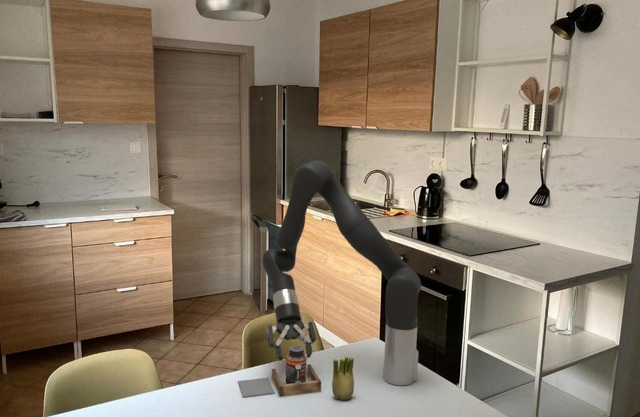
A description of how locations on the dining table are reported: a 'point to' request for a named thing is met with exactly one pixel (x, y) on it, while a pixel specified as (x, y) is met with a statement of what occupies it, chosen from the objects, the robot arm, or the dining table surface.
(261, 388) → the slate mat
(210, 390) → the dining table surface
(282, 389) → the walnut stall
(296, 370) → the supplement bottle
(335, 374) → the fennel bulb
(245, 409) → the dining table surface
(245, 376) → the dining table surface
